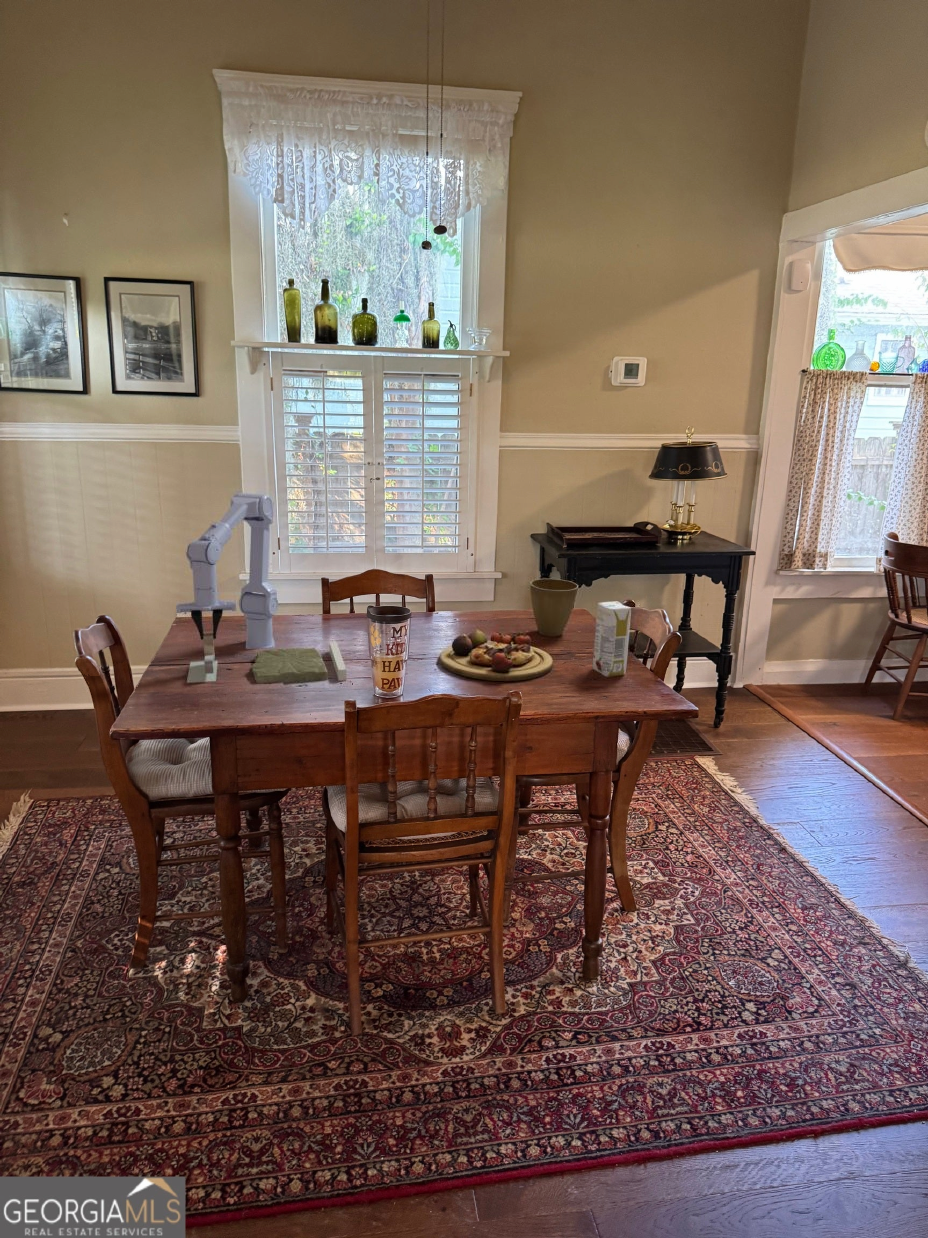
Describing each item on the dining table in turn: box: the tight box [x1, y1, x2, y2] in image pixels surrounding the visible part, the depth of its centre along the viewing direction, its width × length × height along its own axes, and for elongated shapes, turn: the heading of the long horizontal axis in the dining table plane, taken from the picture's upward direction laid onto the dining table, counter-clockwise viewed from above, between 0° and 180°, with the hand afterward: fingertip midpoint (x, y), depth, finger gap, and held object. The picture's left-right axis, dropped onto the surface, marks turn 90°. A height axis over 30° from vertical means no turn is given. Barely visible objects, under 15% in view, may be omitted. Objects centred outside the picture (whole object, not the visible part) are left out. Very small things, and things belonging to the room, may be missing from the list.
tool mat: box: [186, 660, 218, 684], centre depth 212 cm, size 16×7×1 cm, turn 15°
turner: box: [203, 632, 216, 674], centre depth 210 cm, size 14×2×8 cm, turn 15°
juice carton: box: [592, 600, 632, 677], centre depth 220 cm, size 8×9×19 cm
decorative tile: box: [251, 647, 328, 684], centre depth 216 cm, size 19×20×4 cm
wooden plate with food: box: [438, 629, 554, 682], centre depth 226 cm, size 32×32×8 cm
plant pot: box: [529, 578, 579, 637], centre depth 254 cm, size 15×15×16 cm
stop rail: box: [328, 641, 347, 682], centre depth 221 cm, size 24×2×3 cm, turn 15°
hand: (208, 638), depth 210 cm, fingers closed on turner, 2 cm apart
